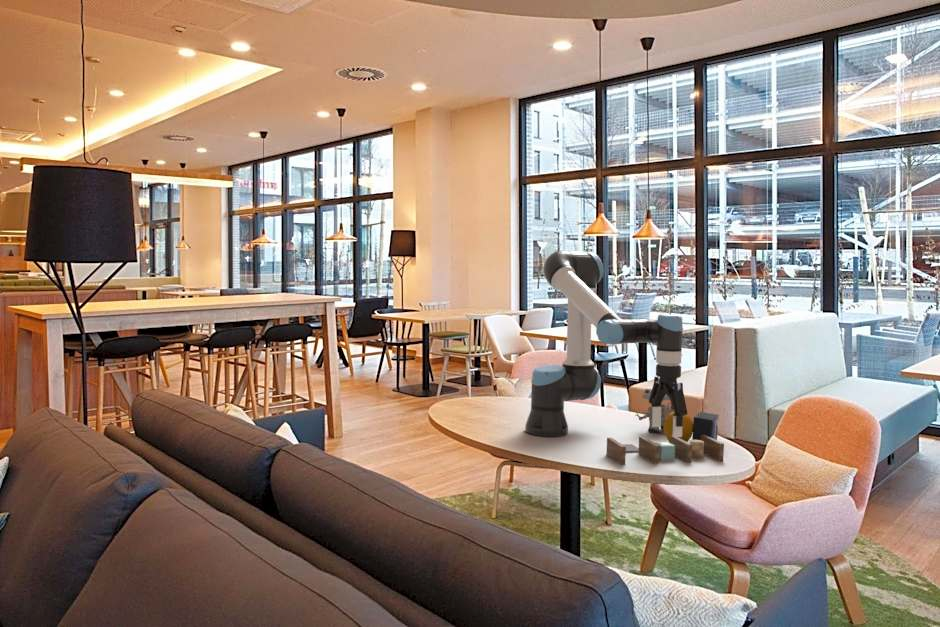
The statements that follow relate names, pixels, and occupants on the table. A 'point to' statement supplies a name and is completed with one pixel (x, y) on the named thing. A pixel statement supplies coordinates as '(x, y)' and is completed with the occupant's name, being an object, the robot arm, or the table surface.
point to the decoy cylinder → (697, 448)
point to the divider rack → (652, 449)
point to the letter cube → (666, 450)
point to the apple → (686, 427)
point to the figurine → (664, 412)
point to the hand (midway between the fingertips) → (666, 431)
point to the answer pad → (631, 448)
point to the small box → (705, 425)
